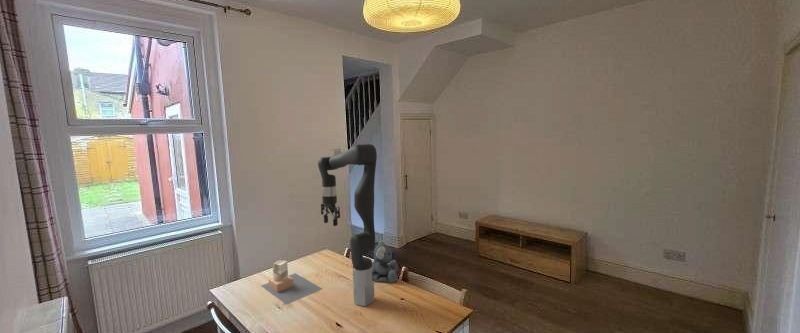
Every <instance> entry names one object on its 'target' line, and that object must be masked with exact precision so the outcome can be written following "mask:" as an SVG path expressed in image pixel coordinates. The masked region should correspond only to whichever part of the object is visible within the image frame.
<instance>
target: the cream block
mask: <svg viewBox="0 0 800 333" xmlns="http://www.w3.org/2000/svg"><path fill="white" fill-rule="evenodd" d="M272 274H273V275H272V276H273V278H274V280H275V281H280V282H282V281H283V280H285V279H287V278H288V276H289V270H288V261H287V260H281V259H280V260H277V261H275V262H274V263H272Z"/></svg>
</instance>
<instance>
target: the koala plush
mask: <svg viewBox="0 0 800 333" xmlns="http://www.w3.org/2000/svg"><path fill="white" fill-rule="evenodd" d="M377 244H378V245H376V246H375V247H374V249H373V260H372V279H373V281H374V282H376V283H377V282H385V283H390V282H391V283H395V282H397V281H398V274H397V273H398V272H399V265H398V263H397V261H396V260H395V259H393V258H394V257H395V254H394V253H393V252H392V250H391V248H390V247H389V245H388V244H386V241H384V240H379V241H378V243H377ZM392 259H393V260H392Z"/></svg>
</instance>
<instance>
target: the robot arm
mask: <svg viewBox="0 0 800 333" xmlns="http://www.w3.org/2000/svg"><path fill="white" fill-rule="evenodd" d="M377 159H378V157H377V149H376V146H374V145H373V144H372V143H370V144H369V143H367V144H366V143H364V144H356V145H354V146H352V147H350V148H348V149H347V150H345V151H343V152H340V153H336V154H333V155H332V156H323V157H320V158H319V159H318V161H317V167H318V171H319V173H320V176H321V186H322V188H321V196H322V197H321V198H322V199H321V200H322V201H321V202H322V203H321V204H320V214H321V215H322V217H323V223H324V224H328V223H329V215H330V217H332V225H333V227H336V226H338V219H340V218H341V211H340V210H341V209H340V208H341V207H340V206H336V204H337V203H338V198H337V197H338V196H337V195H338V194H337V193H338V191H337V182H336V181H337V179H336V178H337V177H336V175H334V174H329V172H328V171H335V170H338V169H341V168H344V167H347V166H348V165H354V166H355V165H356V166H363V173H362V176H361V178H360V180H359V181H358V182H359V183H358V184H357V186H356V188H355V190H354V194H353V195H354V196H353V197H354V198H353V199H354V204H353V205H354V209H355V211H356V212H357V214H358V215H359V217H360V219H361V221H362V222H363V232H360V233H357V234H353V235H352V236H351V237H350V242H349V243H350V244H349V246H350V259H351V264H352V281H353V284H352V285H353V286H352V287H353V303H354V305H356V306H363V307H367V306H369V305H370V304H372V303H374V302H375V282H373V279H372V262H373V260H372V259H371V258H369V257H365V256H364V255H363V254H365V253H368V252H371V251H374V250H375V248H376V232H375V230H376V229H375V182H376V181H375V179H376V178H375V177H376V168H377Z"/></svg>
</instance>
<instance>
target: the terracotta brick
mask: <svg viewBox="0 0 800 333" xmlns="http://www.w3.org/2000/svg"><path fill="white" fill-rule="evenodd" d="M268 283H269V287H270V288H272V289H273V290H275V291H276V292H279V291H282V290H284V289H287V288H289V287H292V286H294V285H293V278H291V277H290V276H289V275H288V278H287V279H285V280H283V281H282V282H280V281H275V280H274V277H272V278H271V277H270V278H269V279H268Z"/></svg>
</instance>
